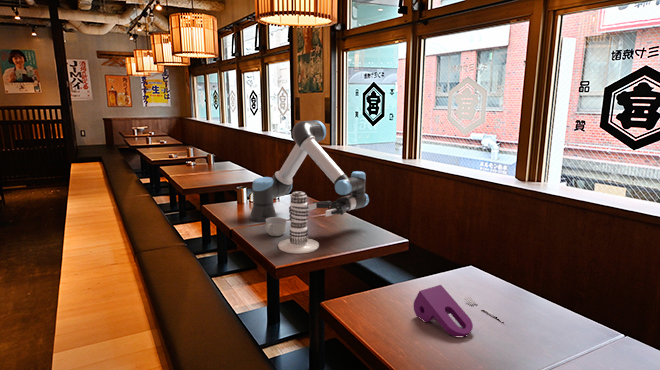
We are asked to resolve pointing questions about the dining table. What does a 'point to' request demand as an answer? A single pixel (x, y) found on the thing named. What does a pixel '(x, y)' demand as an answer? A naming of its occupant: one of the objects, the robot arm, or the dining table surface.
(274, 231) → the teacup
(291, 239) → the decorative candle
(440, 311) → the mounting bracket
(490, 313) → the fork
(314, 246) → the candle plate
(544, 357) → the dining table surface
